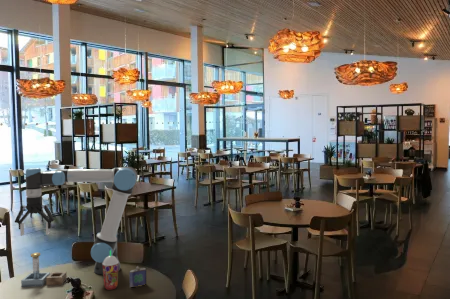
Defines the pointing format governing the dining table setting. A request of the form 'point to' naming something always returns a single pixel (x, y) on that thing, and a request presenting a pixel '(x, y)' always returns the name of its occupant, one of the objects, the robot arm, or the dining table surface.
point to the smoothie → (110, 272)
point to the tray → (34, 280)
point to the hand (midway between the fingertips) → (35, 234)
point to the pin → (36, 265)
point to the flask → (137, 277)
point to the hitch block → (56, 278)
